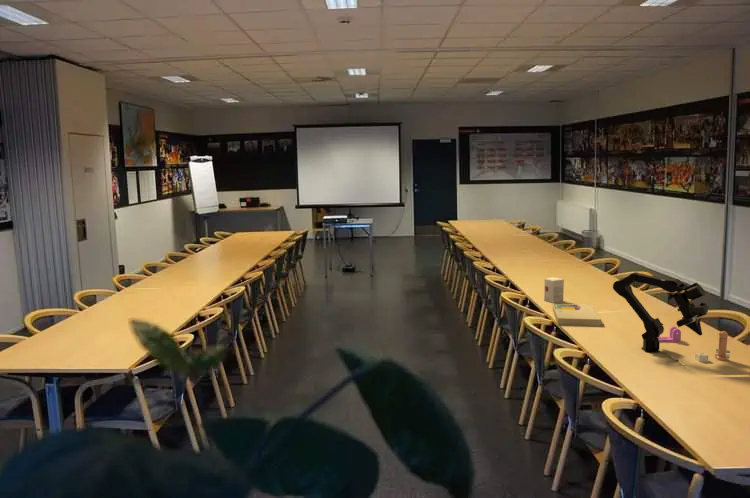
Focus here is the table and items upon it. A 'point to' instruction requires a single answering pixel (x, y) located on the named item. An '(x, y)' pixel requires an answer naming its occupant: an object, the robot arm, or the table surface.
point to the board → (726, 354)
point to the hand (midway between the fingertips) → (701, 335)
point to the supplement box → (553, 290)
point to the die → (701, 357)
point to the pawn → (722, 346)
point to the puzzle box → (576, 315)
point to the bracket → (672, 336)
